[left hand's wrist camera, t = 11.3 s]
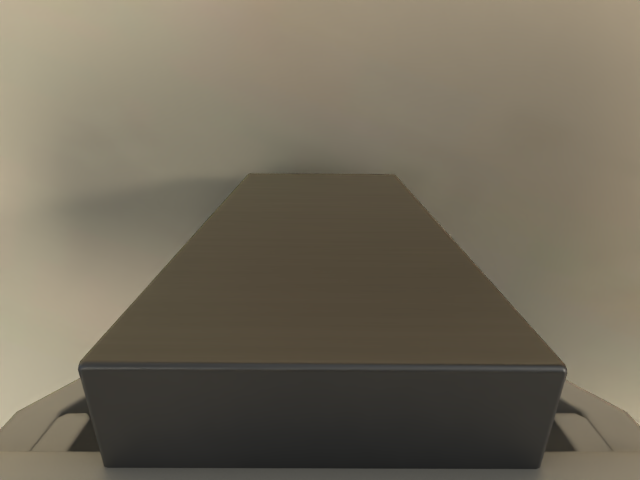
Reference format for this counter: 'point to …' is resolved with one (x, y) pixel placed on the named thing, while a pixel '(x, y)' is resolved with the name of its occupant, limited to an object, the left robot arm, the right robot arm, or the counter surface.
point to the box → (322, 343)
